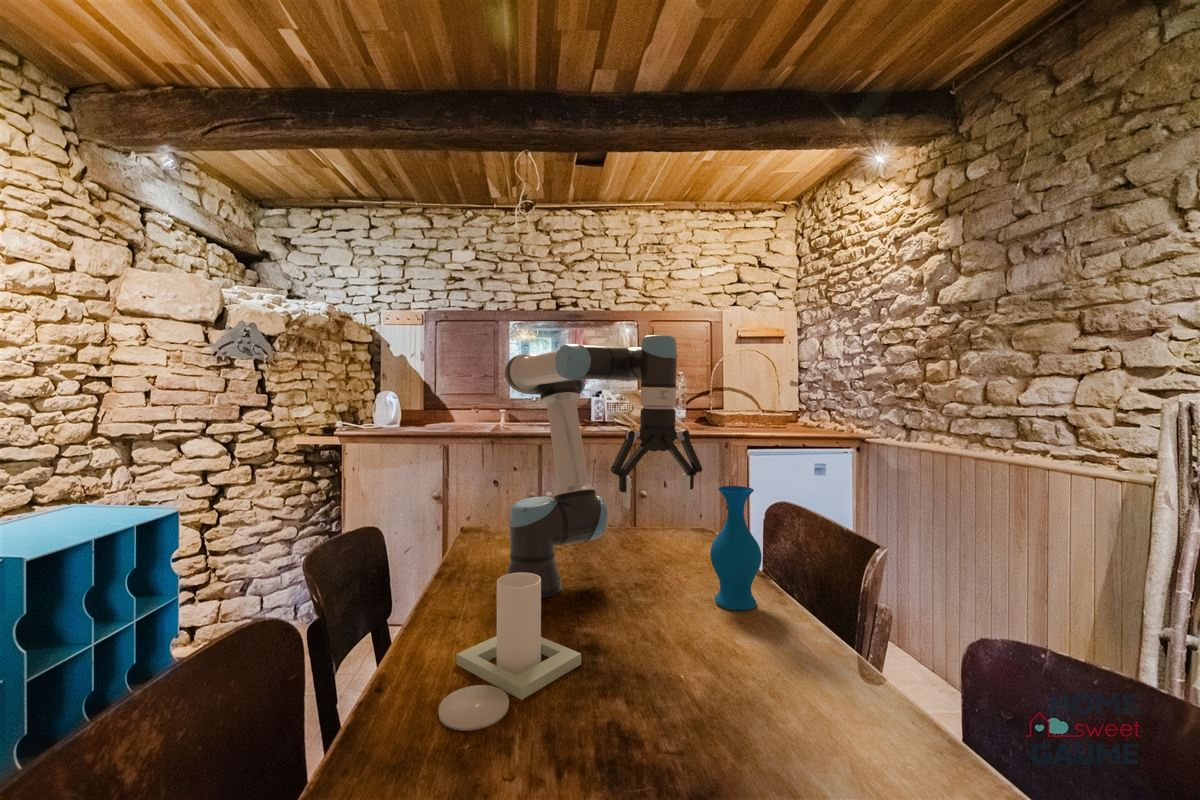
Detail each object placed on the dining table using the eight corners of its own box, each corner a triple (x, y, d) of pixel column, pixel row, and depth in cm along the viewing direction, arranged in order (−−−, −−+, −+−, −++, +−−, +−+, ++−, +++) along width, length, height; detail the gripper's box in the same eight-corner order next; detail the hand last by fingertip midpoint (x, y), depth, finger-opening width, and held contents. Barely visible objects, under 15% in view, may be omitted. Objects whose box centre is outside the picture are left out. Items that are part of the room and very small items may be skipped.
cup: (532, 678, 93) (532, 589, 93) (489, 673, 95) (489, 585, 95) (546, 656, 101) (546, 573, 101) (506, 651, 103) (506, 570, 103)
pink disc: (424, 711, 83) (424, 706, 83) (480, 682, 92) (480, 678, 92) (466, 740, 76) (466, 735, 76) (523, 706, 85) (523, 701, 85)
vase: (762, 597, 131) (762, 486, 131) (760, 617, 119) (760, 495, 119) (713, 591, 135) (713, 483, 135) (707, 610, 123) (707, 491, 123)
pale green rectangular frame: (456, 664, 98) (456, 653, 98) (516, 636, 109) (516, 626, 109) (521, 699, 86) (521, 687, 86) (581, 664, 98) (581, 653, 98)
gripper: (606, 408, 105) (605, 512, 106) (718, 408, 112) (717, 507, 112) (597, 406, 113) (596, 504, 113) (703, 407, 119) (701, 499, 120)
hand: (656, 505), depth 113 cm, fingers open, 13 cm apart
